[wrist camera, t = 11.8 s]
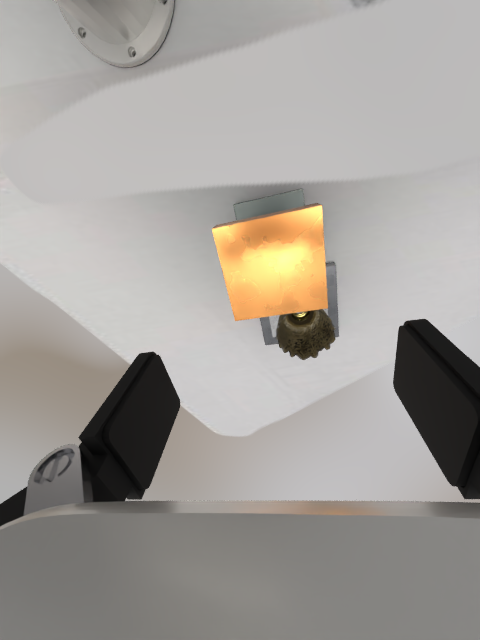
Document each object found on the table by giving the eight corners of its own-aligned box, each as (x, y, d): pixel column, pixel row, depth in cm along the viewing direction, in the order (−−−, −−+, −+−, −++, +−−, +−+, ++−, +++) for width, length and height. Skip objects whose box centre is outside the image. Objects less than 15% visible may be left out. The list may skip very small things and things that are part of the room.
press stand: (234, 204, 35) (218, 214, 24) (301, 188, 33) (315, 192, 22) (247, 267, 39) (238, 299, 28) (308, 256, 37) (322, 286, 26)
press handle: (233, 211, 29) (211, 229, 19) (303, 196, 28) (321, 205, 17) (246, 276, 33) (235, 320, 23) (309, 266, 31) (327, 308, 21)
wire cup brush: (304, 276, 37) (312, 298, 30) (334, 310, 39) (347, 339, 32) (265, 306, 40) (264, 333, 33) (295, 337, 42) (299, 368, 35)
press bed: (252, 276, 39) (252, 279, 38) (333, 262, 37) (336, 265, 35) (265, 340, 45) (265, 345, 43) (336, 331, 42) (339, 337, 41)
